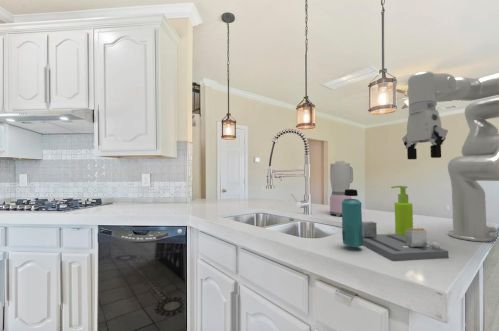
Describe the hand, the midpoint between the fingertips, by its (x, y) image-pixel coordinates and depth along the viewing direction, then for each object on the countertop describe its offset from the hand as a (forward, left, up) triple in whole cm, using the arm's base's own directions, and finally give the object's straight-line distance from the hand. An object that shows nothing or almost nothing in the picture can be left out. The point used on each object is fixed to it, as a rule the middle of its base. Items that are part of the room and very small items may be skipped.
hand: (423, 158), depth 81 cm
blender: (-2, -60, -31) cm, 67 cm away
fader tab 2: (+8, +5, -28) cm, 29 cm away
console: (+11, 0, -30) cm, 32 cm away
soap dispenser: (-2, -13, -31) cm, 33 cm away
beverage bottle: (+26, -2, -31) cm, 40 cm away
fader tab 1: (+17, -7, -28) cm, 33 cm away
